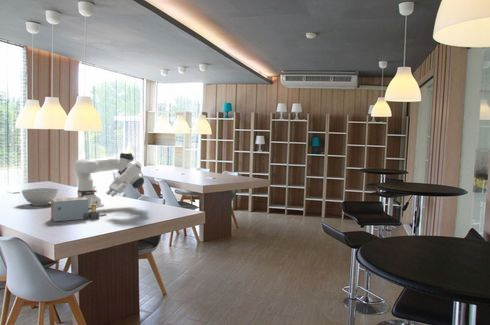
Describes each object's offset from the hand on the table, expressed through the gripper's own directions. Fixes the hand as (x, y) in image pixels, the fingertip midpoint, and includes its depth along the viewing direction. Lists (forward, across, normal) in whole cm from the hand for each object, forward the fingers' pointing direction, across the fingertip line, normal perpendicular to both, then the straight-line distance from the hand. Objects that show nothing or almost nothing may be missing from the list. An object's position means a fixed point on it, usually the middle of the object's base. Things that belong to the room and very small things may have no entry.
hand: (109, 195), depth 279 cm
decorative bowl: (+35, +77, +12) cm, 86 cm away
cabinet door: (+29, 0, +7) cm, 30 cm away
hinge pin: (+19, 0, -4) cm, 19 cm away
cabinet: (+29, +6, +7) cm, 31 cm away
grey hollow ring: (+20, 0, -2) cm, 20 cm away
